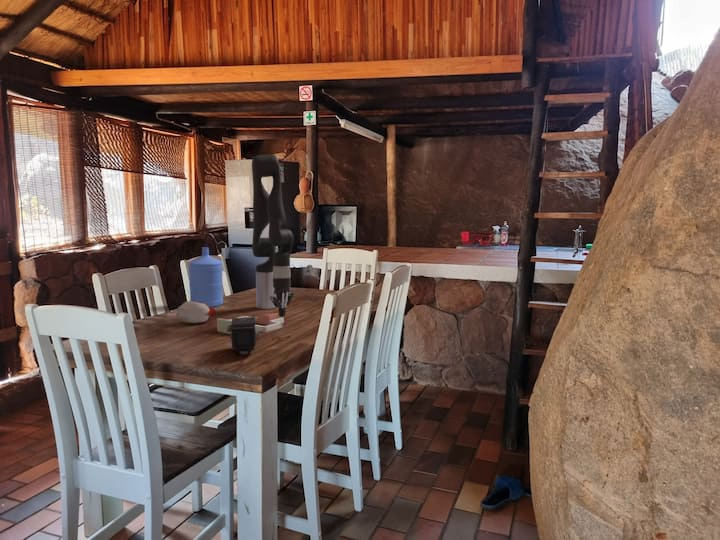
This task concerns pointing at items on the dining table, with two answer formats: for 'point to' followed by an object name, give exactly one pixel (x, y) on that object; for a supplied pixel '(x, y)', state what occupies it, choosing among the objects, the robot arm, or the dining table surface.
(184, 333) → the dining table surface
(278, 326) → the box
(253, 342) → the camera
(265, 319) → the block
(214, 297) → the water jug
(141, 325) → the dining table surface
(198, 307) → the white and red lump
